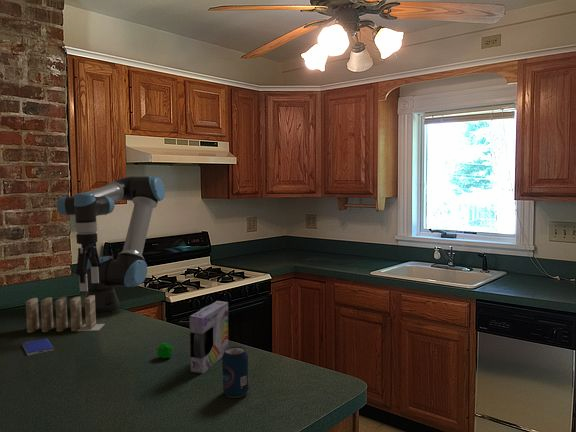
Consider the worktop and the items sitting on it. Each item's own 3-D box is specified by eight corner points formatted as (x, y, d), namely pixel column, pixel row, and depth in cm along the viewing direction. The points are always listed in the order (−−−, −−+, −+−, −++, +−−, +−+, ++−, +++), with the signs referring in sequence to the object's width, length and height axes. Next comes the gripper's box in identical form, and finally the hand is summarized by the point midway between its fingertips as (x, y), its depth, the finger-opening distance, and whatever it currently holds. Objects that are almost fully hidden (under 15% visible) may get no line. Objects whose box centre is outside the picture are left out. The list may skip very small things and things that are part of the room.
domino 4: (82, 326, 199) (80, 296, 198) (76, 330, 193) (75, 300, 192) (76, 326, 199) (75, 296, 198) (71, 330, 193) (69, 300, 192)
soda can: (217, 393, 136) (216, 350, 135) (237, 385, 140) (237, 343, 139) (233, 401, 131) (232, 356, 130) (254, 392, 136) (253, 349, 135)
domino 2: (53, 327, 198) (52, 297, 197) (47, 331, 192) (45, 301, 191) (48, 327, 198) (46, 297, 197) (42, 331, 192) (40, 301, 191)
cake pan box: (202, 375, 148) (200, 317, 147) (187, 373, 150) (185, 315, 148) (230, 353, 166) (229, 301, 165) (216, 351, 168) (215, 300, 166)
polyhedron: (175, 355, 165) (175, 341, 164) (168, 361, 160) (167, 346, 159) (162, 354, 166) (161, 340, 166) (154, 359, 161) (153, 345, 161)
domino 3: (67, 326, 199) (66, 296, 198) (62, 331, 193) (60, 300, 192) (62, 326, 199) (61, 297, 198) (56, 331, 193) (55, 300, 192)
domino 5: (96, 324, 199) (94, 295, 198) (91, 329, 194) (89, 298, 193) (91, 324, 199) (89, 295, 198) (86, 329, 193) (84, 299, 192)
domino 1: (39, 327, 198) (37, 297, 197) (32, 332, 192) (30, 301, 191) (34, 327, 198) (32, 297, 197) (27, 332, 192) (25, 301, 191)
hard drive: (22, 342, 177) (27, 352, 167) (47, 338, 182) (54, 347, 171) (22, 346, 177) (27, 357, 167) (47, 342, 182) (54, 352, 172)
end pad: (104, 324, 201) (104, 323, 201) (98, 330, 193) (98, 329, 193) (84, 325, 200) (84, 324, 200) (77, 331, 192) (77, 330, 192)
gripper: (87, 229, 205) (90, 280, 208) (64, 237, 181) (68, 295, 183) (106, 228, 206) (108, 279, 208) (85, 237, 181) (89, 294, 183)
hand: (89, 286), depth 195 cm, fingers open, 13 cm apart
